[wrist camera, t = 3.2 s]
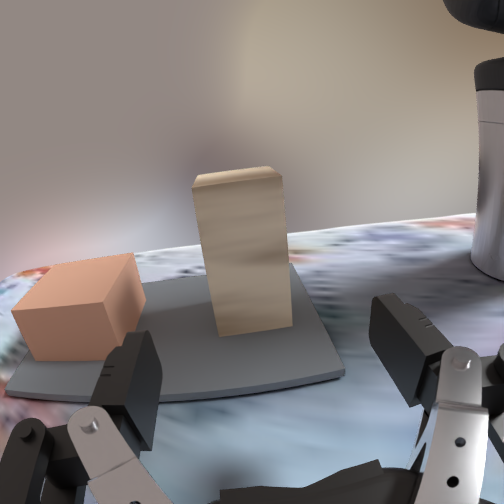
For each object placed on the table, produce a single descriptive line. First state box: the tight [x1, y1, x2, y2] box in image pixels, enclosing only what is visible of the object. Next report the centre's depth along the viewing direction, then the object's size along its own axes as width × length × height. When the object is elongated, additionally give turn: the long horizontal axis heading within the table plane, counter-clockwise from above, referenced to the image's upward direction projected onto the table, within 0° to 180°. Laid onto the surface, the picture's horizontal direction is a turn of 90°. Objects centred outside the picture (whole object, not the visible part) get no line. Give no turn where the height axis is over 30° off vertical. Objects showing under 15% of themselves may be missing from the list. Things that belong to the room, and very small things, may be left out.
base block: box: [11, 253, 146, 361], centre depth 22 cm, size 8×8×4 cm
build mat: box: [4, 263, 345, 402], centre depth 23 cm, size 15×23×1 cm, turn 96°
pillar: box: [192, 166, 293, 337], centre depth 21 cm, size 5×5×10 cm
